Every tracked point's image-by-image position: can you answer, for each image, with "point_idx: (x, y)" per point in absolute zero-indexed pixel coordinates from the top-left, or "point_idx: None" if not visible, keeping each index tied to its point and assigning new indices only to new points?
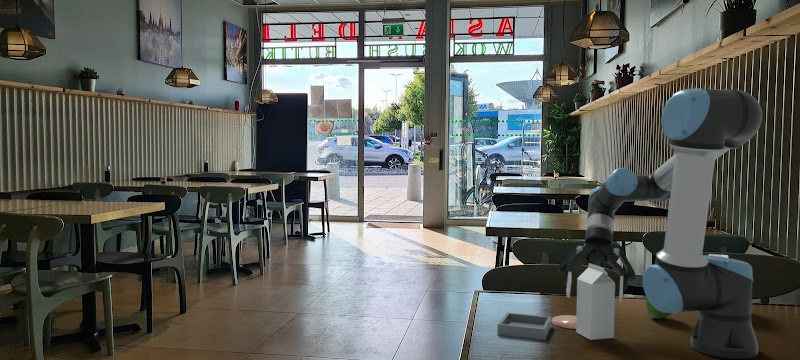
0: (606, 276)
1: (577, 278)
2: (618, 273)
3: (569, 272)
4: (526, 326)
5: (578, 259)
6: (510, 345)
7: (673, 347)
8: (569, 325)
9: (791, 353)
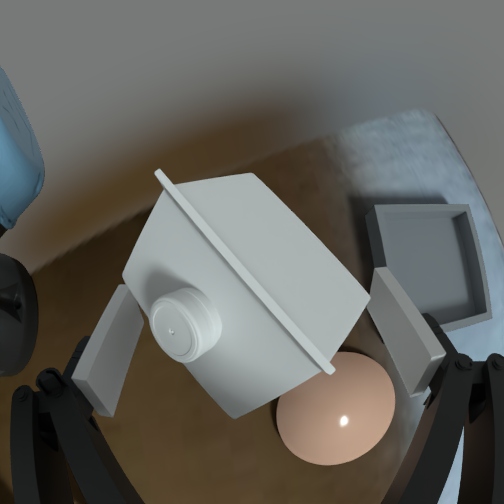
0: (158, 245)
1: (369, 296)
2: (108, 450)
3: (438, 350)
4: (432, 282)
5: (438, 472)
6: (405, 156)
7: (66, 293)
8: (336, 356)
9: None
